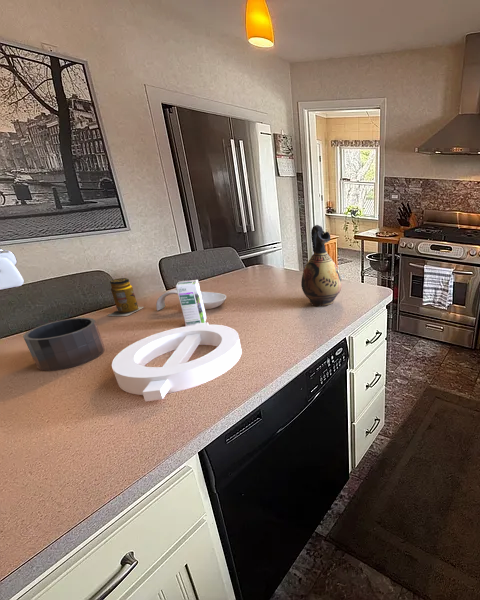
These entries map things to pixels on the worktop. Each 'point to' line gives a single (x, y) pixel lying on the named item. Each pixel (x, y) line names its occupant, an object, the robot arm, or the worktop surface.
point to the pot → (64, 343)
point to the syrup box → (191, 302)
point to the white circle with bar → (176, 360)
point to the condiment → (123, 297)
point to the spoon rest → (208, 298)
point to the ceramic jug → (320, 272)
